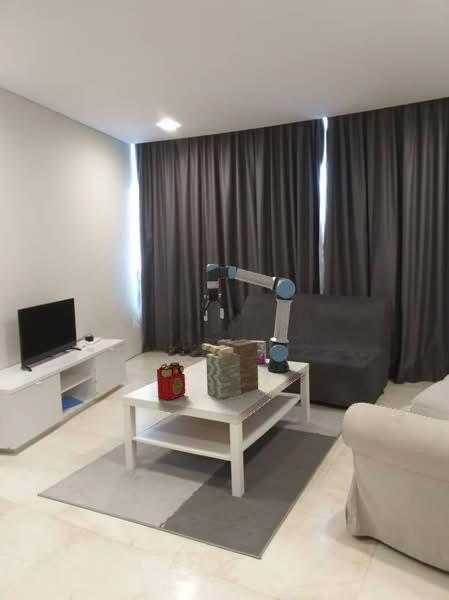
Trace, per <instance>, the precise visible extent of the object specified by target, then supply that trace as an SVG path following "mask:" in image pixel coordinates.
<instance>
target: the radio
mask: <svg viewBox="0 0 449 600" xmlns="http://www.w3.org/2000/svg"><path fill="white" fill-rule="evenodd" d="M184 371H185V368H184V365H181V364H180V363H179V362H176V361H175V362H171V363H169V364H167V363H162V364H161V365H160V367H158V368H156V376H157V380H156V381H157V399H158V398H159V399H158V400H165V401H170V400H174V399H176V398H179V397H181V396H183V395H185V394H186V376H185V375H186V374H185V373H183V372H184Z"/></svg>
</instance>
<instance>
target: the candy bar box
mask: <svg viewBox="0 0 449 600" xmlns="http://www.w3.org/2000/svg"><path fill="white" fill-rule="evenodd" d="M253 341H254V342H257V352H258V365H261V364H262V365H265V364H267V349H266V348H267V347H266V346H267V343H266V340H265V341H264V340H253Z"/></svg>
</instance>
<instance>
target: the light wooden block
mask: <svg viewBox="0 0 449 600" xmlns="http://www.w3.org/2000/svg"><path fill="white" fill-rule="evenodd" d="M201 349H202V350H205V351H207V352H211V353H212V354H214V355H217V356H221V357H225V356H229V355H233V348H232V347H228V346H223V345H222V346H219V345H213V344H210V343H206V342H205V343H202V344H201Z"/></svg>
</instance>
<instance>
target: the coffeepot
mask: <svg viewBox="0 0 449 600" xmlns="http://www.w3.org/2000/svg"><path fill="white" fill-rule="evenodd" d="M235 340H236V339H234V338H232V339H226V337H225V336H223V339H219V340H217V341H216V343H217V346H222V345H223V346H225V342H229V341H235Z"/></svg>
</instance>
